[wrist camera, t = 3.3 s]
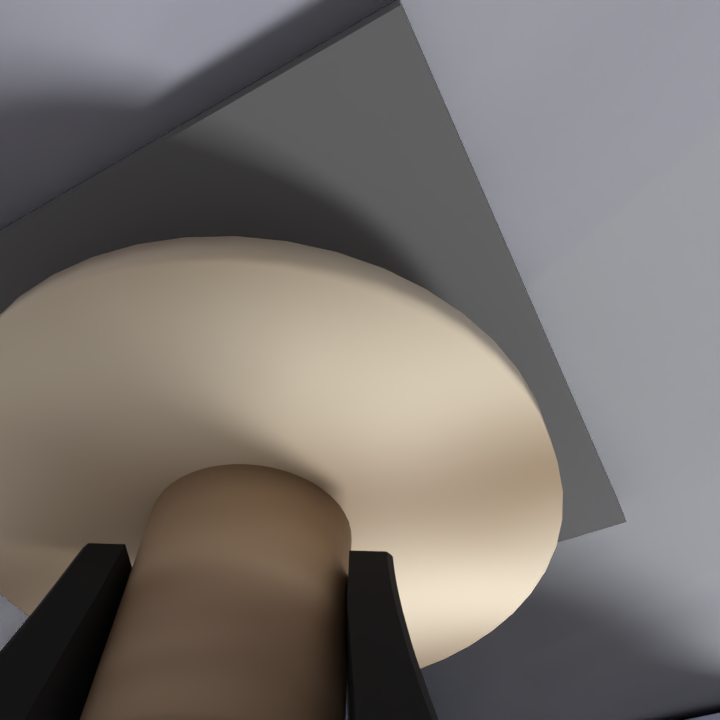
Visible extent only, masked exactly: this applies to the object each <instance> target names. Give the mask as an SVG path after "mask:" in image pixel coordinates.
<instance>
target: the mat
mask: <svg viewBox="0 0 720 720" xmlns="http://www.w3.org/2000/svg"><path fill="white" fill-rule="evenodd" d="M220 236H240V237H250V238H260V239H270V240H280V241H289V242H293V243H298V244H302V245H307V246H311V247H316V248H321V249H325V250H330V251H334V252H338V253H341V254H344V255H347V256H350V257H353V258H355V259H358V260H361V261H364V262H367V263H370V264H373V265H376V266H378V267H381V268H384V269H386V270H388V271H390V272H392V273H394V274H396V275H398V276H400V277H402V278H404V279H407V280H409V281H411V282H413V283H415V284H417V285H419V286H421V287H423V288H425V289H427V290H428V291H430V292H431V293H433V294H434V295H436V296H437V297H439V298H440V299H442V300H443V301H445V302H446V303H448V304H449V305H451V306H452V307H454V308H455V309H457V310H458V311H460V312H462V313H463V314H464V315H465V316H466V317H468V318H469V319H470V320H471V321H472V322H473V323H474V324H476V325H477V326H478V327H479V328H480V329H481V330H482V331H484V332H485V333H486V334H487V335H488V336H489V337H490V338H491V339H493V340H494V341H495V343H496V344H497V345H498V346H499V347H500V348H501V350H502V351H503V352H504V353H505V354H506V356H507V357H508V358H509V359H510V360H511V362H512V363H513V364H514V365H515V366H516V367H517V369H518V370H519V372H520V373H521V375H522V377H523V378H524V380H525V382H526V383H527V385H528V387H529V388H530V390H531V392H532V393H533V395H534V397H535V398H536V401H537V403H538V406H539V408H540V411H541V414H542V416H543V419H544V422H545V424H546V427H547V430H548V433H549V436H550V439H551V442H552V446H553V449H554V452H555V455H556V458H557V462H558V467H559V473H560V478H561V484H562V490H563V506H562V523H561V527H560V532H559V536H558V541H557V542H560V541H564V540H567V539H570V538H574V537H577V536H580V535H584V534H587V533H590V532H594V531H597V530H601V529H604V528H607V527H611V526H614V525H617V524H621V523H624V522H626V520H625V517H624V514H623V512H622V509H621V507H620V504H619V502H618V499H617V497H616V495H615V492H614V490H613V488H612V486H611V483H610V481H609V479H608V476H607V474H606V472H605V470H604V467H603V465H602V463H601V460H600V458H599V456H598V454H597V451H596V449H595V447H594V444H593V442H592V440H591V437H590V435H589V433H588V431H587V428H586V426H585V424H584V421H583V419H582V417H581V415H580V412H579V410H578V408H577V405H576V403H575V401H574V398H573V396H572V394H571V392H570V389H569V387H568V385H567V382H566V380H565V378H564V376H563V373H562V371H561V369H560V366H559V364H558V362H557V360H556V357H555V355H554V353H553V350H552V348H551V346H550V343H549V341H548V339H547V337H546V334H545V332H544V330H543V327H542V325H541V323H540V321H539V318H538V316H537V314H536V311H535V309H534V307H533V304H532V302H531V300H530V298H529V295H528V293H527V291H526V288H525V286H524V284H523V282H522V279H521V277H520V275H519V272H518V270H517V268H516V265H515V263H514V261H513V259H512V256H511V254H510V252H509V249H508V247H507V245H506V243H505V240H504V238H503V236H502V233H501V231H500V229H499V227H498V224H497V222H496V220H495V217H494V215H493V213H492V210H491V208H490V206H489V204H488V201H487V199H486V197H485V194H484V192H483V190H482V188H481V185H480V183H479V181H478V178H477V176H476V174H475V171H474V169H473V167H472V165H471V162H470V160H469V158H468V155H467V153H466V151H465V149H464V146H463V144H462V142H461V139H460V137H459V135H458V132H457V130H456V128H455V126H454V123H453V121H452V119H451V116H450V114H449V112H448V110H447V107H446V105H445V103H444V100H443V98H442V96H441V94H440V91H439V89H438V87H437V84H436V82H435V80H434V77H433V75H432V73H431V71H430V68H429V66H428V64H427V61H426V59H425V57H424V55H423V52H422V50H421V48H420V45H419V43H418V41H417V38H416V36H415V34H414V32H413V29H412V27H411V25H410V22H409V20H408V18H407V16H406V13H405V11H404V9H403V6H402V4H401V2H400V0H396V1H394V2H392V3H390V4H389V5H387V6H385V7H384V8H382V9H380V10H378V11H377V12H375V13H373V14H371V15H370V16H368V17H366V18H365V19H363V20H361V21H359V22H358V23H356V24H354V25H352V26H351V27H349V28H347V29H346V30H344V31H342V32H340V33H339V34H337V35H335V36H334V37H332V38H330V39H328V40H327V41H325V42H323V43H321V44H320V45H318V46H316V47H315V48H313V49H311V50H309V51H308V52H306V53H304V54H303V55H301V56H299V57H297V58H296V59H294V60H292V61H290V62H289V63H287V64H285V65H284V66H282V67H280V68H278V69H277V70H275V71H273V72H271V73H270V74H268V75H266V76H265V77H263V78H261V79H259V80H258V81H256V82H254V83H253V84H251V85H249V86H247V87H246V88H244V89H242V90H240V91H239V92H237V93H235V94H234V95H232V96H230V97H228V98H227V99H225V100H223V101H222V102H220V103H218V104H216V105H215V106H213V107H211V108H209V109H208V110H206V111H204V112H203V113H201V114H199V115H197V116H196V117H194V118H192V119H190V120H189V121H187V122H185V123H184V124H182V125H180V126H178V127H177V128H175V129H173V130H172V131H170V132H168V133H166V134H165V135H163V136H161V137H159V138H158V139H156V140H154V141H153V142H151V143H149V144H147V145H146V146H144V147H142V148H141V149H139V150H137V151H135V152H134V153H132V154H130V155H128V156H127V157H125V158H123V159H122V160H120V161H118V162H116V163H115V164H113V165H111V166H109V167H108V168H106V169H104V170H103V171H101V172H99V173H97V174H96V175H94V176H92V177H91V178H89V179H87V180H85V181H84V182H82V183H80V184H78V185H77V186H75V187H73V188H72V189H70V190H68V191H66V192H65V193H63V194H61V195H59V196H58V197H56V198H54V199H53V200H51V201H49V202H47V203H46V204H44V205H42V206H41V207H39V208H37V209H35V210H34V211H32V212H30V213H28V214H27V215H25V216H23V217H22V218H20V219H18V220H16V221H15V222H13V223H11V224H10V225H8V226H6V227H4V228H3V229H1V230H0V314H1V313H2V312H3V311H4V310H5V309H6V308H8V307H9V306H10V305H11V304H12V303H13V302H14V301H15V300H16V299H17V298H18V297H19V296H21V295H22V294H24V293H25V292H27V291H29V290H30V289H32V288H33V287H35V286H36V285H38V284H39V283H41V282H42V281H44V280H45V279H47V278H48V277H50V276H52V275H53V274H55V273H58V272H60V271H62V270H64V269H67V268H69V267H71V266H73V265H76V264H78V263H80V262H82V261H85V260H87V259H89V258H91V257H94V256H98V255H101V254H105V253H108V252H112V251H115V250H119V249H122V248H126V247H129V246H133V245H136V244H142V243H149V242H156V241H163V240H170V239H177V238H184V237H220Z"/></svg>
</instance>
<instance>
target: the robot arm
mask: <svg viewBox="0 0 720 720" xmlns="http://www.w3.org/2000/svg"><path fill="white" fill-rule="evenodd" d="M131 570H132V565H131V562H130V559H129V555H128V552H127V548H126V545H125V544H102V543H88V544H86V545H85V546H84V547H83V548H82V549H81V550H80V552H79V553H78V554H77V556H76V557H75V558H74V560H73V561H72V562H71V564H70V565H69V566H68V568H67V569H66V570H65V571H64V573H63V574H62V575H61V577H60V578H59V579H58V581H57V582H56V583H55V584H54V586H53V587H52V588H51V590H50V591H49V592H48V593H47V595H46V596H45V597H44V599H43V600H42V601H41V602H40V604H39V605H38V606H37V607H36V609H35V610H34V611H33V612H32V614H31V615H30V616H29V617H28V619H27V620H26V621H25V622H24V624H23V625H22V626H21V627H20V629H19V630H18V631H17V632H16V633H15V635H14V636H13V637H12V638H11V639H10V641H9V642H8V643H7V644H6V645H5V646H4V648H3V649H2V650H1V651H0V720H80V717H81V714H82V711H83V708H84V705H85V703H86V700H87V697H88V694H89V691H90V688H91V685H92V682H93V679H94V677H95V674H96V671H97V668H98V665H99V662H100V659H101V656H102V653H103V651H104V648H105V645H106V642H107V639H108V636H109V633H110V630H111V627H112V625H113V622H114V619H115V616H116V613H117V610H118V607H119V604H120V602H121V599H122V596H123V593H124V590H125V587H126V584H127V581H128V578H129V576H130V573H131ZM347 663H348V664H347V695H346V702H347V720H438V718H437V715H436V712H435V710H434V707H433V704H432V702H431V699H430V696H429V693H428V690H427V687H426V685H425V682H424V679H423V676H422V673H421V670H420V667H419V664H418V661H417V658H416V655H415V652H414V649H413V645H412V642H411V639H410V635H409V632H408V628H407V624H406V621H405V617H404V613H403V609H402V605H401V601H400V597H399V592H398V587H397V582H396V576H395V570H394V562H393V556H392V555H391V554H389V553H388V552H387V551H352V550H349V567H348V591H347ZM686 720H720V713H715V714H710V715H705V716H701V717H696V718H691V719H686Z"/></svg>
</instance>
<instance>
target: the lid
mask: <svg viewBox="0 0 720 720" xmlns="http://www.w3.org/2000/svg"><path fill="white" fill-rule="evenodd" d="M562 506H563V490H562V484H561V478H560V473H559V467H558V462H557V458H556V455H555V452H554V449H553V446H552V442H551V439H550V436H549V433H548V430H547V427H546V424H545V422H544V419H543V416H542V414H541V411H540V408H539V406H538V403H537V401H536V398H535V397H534V395H533V393H532V392H531V390H530V388H529V387H528V385H527V383H526V382H525V380H524V378H523V377H522V375H521V373H520V372H519V370H518V369H517V367H516V366H515V365H514V364H513V363H512V362H511V360H510V359H509V358H508V357H507V356H506V354H505V353H504V352H503V351H502V350H501V348H500V347H499V346H498V345H497V344H496V343H495V341H494V340H493V339H491V338H490V337H489V336H488V335H487V334H486V333H485V332H484V331H482V330H481V329H480V328H479V327H478V326H477V325H476V324H474V323H473V322H472V321H471V320H470V319H469V318H468V317H466V316H465V315H464V314H463V313H462V312H460V311H458V310H457V309H455V308H454V307H452V306H451V305H449V304H448V303H446V302H445V301H443V300H442V299H440V298H439V297H437V296H436V295H434V294H433V293H431V292H430V291H428V290H427V289H425V288H423V287H421V286H419V285H417V284H415V283H413V282H411V281H409V280H407V279H404V278H402V277H400V276H398V275H396V274H394V273H392V272H390V271H388V270H386V269H384V268H381V267H378V266H376V265H373V264H370V263H367V262H364V261H361V260H358V259H355V258H353V257H350V256H347V255H344V254H341V253H338V252H334V251H330V250H325V249H321V248H316V247H311V246H307V245H302V244H298V243H293V242H289V241H280V240H270V239H260V238H250V237H240V236H220V237H184V238H177V239H170V240H163V241H156V242H149V243H142V244H136V245H133V246H129V247H126V248H122V249H119V250H115V251H112V252H108V253H105V254H101V255H98V256H94V257H91V258H89V259H87V260H85V261H82V262H80V263H78V264H76V265H73V266H71V267H69V268H67V269H64V270H62V271H60V272H58V273H55V274H53V275H52V276H50V277H48V278H47V279H45V280H44V281H42V282H41V283H39V284H38V285H36V286H35V287H33V288H32V289H30V290H29V291H27V292H25V293H24V294H22V295H21V296H19V297H18V298H17V299H16V300H15V301H14V302H13V303H12V304H11V305H10V306H9V307H8V308H6V309H5V310H4V311H3V312H2V313H1V314H0V594H1V595H2V596H3V597H5V598H6V599H7V600H8V601H10V602H11V603H12V604H14V605H15V606H16V607H17V608H19V609H20V610H21V611H22V612H24V613H25V614H26V615H28V616H30V615H31V614H32V612H33V611H34V610H35V609H36V607H37V606H38V605H39V604H40V602H41V601H42V600H43V599H44V597H45V596H46V595H47V593H48V592H49V591H50V590H51V588H52V587H53V586H54V584H55V583H56V582H57V581H58V579H59V578H60V577H61V575H62V574H63V573H64V571H65V570H66V569H67V568H68V566H69V565H70V564H71V562H72V561H73V560H74V558H75V557H76V556H77V554H78V553H79V552H80V550H81V549H82V548H83V547H84V546H85V545H86V544H88V543H102V544H125V545H126V548H127V552H128V555H129V559H130V562H131V565H132V570H131V573H130V576H129V578H128V581H127V584H126V587H125V590H124V593H123V596H122V599H121V602H120V604H119V607H118V610H117V613H116V616H115V619H114V622H113V625H112V627H111V630H110V633H109V636H108V639H107V642H106V645H105V648H104V651H103V653H102V656H101V659H100V662H99V665H98V668H97V671H96V674H95V677H94V679H93V682H92V685H91V688H90V691H89V694H88V697H87V700H86V703H85V705H84V708H83V711H82V714H81V717H80V720H346V695H347V664H348V663H347V591H348V567H349V550H352V551H387V552H388V553H389V554H391V555H392V556H393V562H394V570H395V576H396V582H397V587H398V592H399V597H400V601H401V605H402V609H403V613H404V617H405V621H406V624H407V628H408V632H409V635H410V639H411V642H412V645H413V649H414V652H415V655H416V658H417V661H418V664H419V667H420V669H421V668H423V667H426V666H428V665H431V664H433V663H436V662H438V661H441V660H443V659H445V658H447V657H449V656H451V655H453V654H455V653H457V652H459V651H461V650H463V649H465V648H466V647H468V646H470V645H472V644H473V643H475V642H476V641H478V640H479V639H481V638H482V637H484V636H485V635H487V634H488V633H490V632H491V631H493V630H494V629H495V628H496V627H497V626H499V625H500V624H501V623H502V622H503V621H504V620H506V619H507V618H508V617H509V616H510V615H512V614H513V613H514V612H515V611H516V609H517V608H518V607H519V606H520V605H521V604H522V603H523V602H524V600H525V599H526V598H527V597H528V596H529V595H530V594H531V593H532V591H533V589H534V588H535V586H536V585H537V583H538V582H539V580H540V579H541V577H542V576H543V574H544V573H545V571H546V569H547V567H548V564H549V562H550V560H551V557H552V555H553V553H554V550H555V548H556V545H557V541H558V536H559V532H560V527H561V523H562Z"/></svg>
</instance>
